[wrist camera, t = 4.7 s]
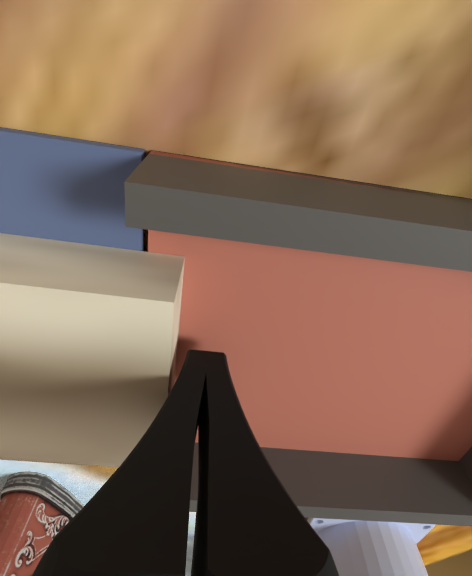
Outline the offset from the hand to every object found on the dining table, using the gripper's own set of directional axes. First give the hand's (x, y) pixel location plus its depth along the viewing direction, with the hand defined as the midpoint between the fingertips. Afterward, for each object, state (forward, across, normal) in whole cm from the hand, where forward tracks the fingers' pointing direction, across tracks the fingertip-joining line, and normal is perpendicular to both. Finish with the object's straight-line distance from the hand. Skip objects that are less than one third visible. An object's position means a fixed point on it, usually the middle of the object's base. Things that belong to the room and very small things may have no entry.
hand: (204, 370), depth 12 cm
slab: (+1, +5, 0) cm, 5 cm away
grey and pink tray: (+1, -6, 0) cm, 6 cm away
